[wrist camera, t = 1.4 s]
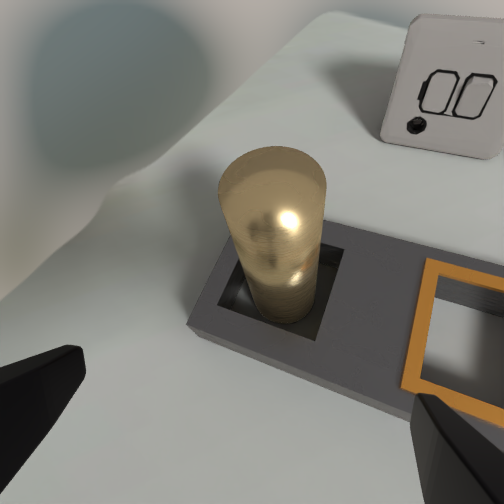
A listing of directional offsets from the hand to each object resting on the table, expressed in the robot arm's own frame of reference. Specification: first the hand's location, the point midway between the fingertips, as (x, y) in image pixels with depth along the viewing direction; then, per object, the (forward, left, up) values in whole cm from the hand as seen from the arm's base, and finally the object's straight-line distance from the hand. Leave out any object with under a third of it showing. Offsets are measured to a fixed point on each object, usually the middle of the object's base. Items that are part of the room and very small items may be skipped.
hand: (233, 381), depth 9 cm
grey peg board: (-3, -8, -13) cm, 16 cm away
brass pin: (+3, -7, -13) cm, 15 cm away
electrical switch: (-1, -27, -14) cm, 30 cm away
